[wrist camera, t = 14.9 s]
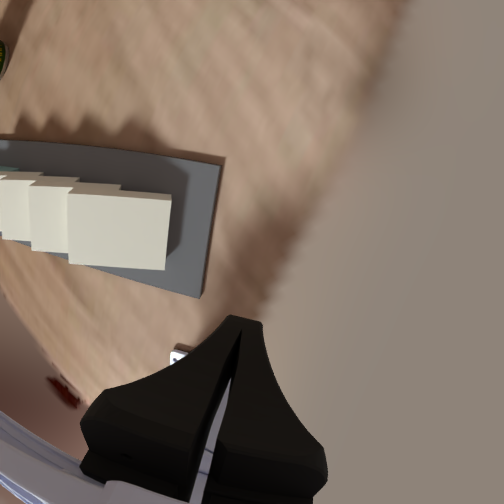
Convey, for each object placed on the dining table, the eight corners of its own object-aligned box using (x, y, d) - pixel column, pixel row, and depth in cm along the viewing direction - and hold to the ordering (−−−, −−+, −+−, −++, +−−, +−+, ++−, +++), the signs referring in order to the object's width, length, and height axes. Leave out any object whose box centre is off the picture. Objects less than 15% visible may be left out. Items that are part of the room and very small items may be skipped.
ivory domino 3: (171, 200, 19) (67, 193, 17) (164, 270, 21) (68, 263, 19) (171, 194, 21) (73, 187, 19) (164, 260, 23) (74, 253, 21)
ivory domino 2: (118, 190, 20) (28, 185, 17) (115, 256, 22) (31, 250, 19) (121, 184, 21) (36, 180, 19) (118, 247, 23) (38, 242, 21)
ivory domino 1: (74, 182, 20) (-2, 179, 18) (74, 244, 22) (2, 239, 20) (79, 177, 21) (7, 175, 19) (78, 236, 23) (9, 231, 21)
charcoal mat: (201, 295, 24) (199, 299, 24) (-2, 232, 25) (-5, 233, 25) (221, 165, 20) (219, 166, 20) (-4, 139, 21) (-8, 140, 21)
